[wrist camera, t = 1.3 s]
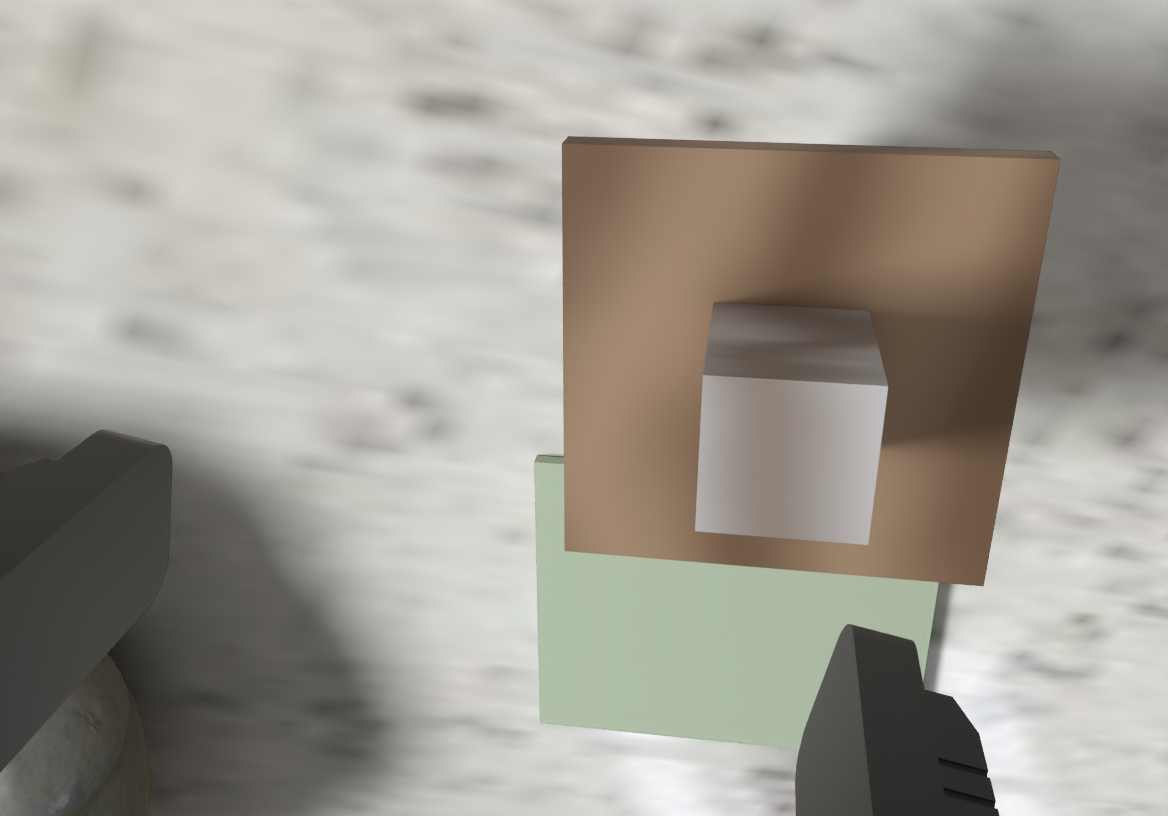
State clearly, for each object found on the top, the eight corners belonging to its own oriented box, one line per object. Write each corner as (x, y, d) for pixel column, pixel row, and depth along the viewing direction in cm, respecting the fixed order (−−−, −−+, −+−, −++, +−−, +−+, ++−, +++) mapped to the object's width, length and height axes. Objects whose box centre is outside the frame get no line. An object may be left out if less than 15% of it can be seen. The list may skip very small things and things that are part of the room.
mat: (950, 483, 42) (952, 491, 41) (909, 751, 47) (910, 760, 47) (537, 455, 44) (534, 462, 43) (542, 713, 49) (540, 723, 49)
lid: (1050, 151, 27) (1121, 212, 22) (977, 566, 32) (1019, 701, 27) (568, 136, 29) (522, 188, 23) (570, 533, 34) (531, 653, 28)
